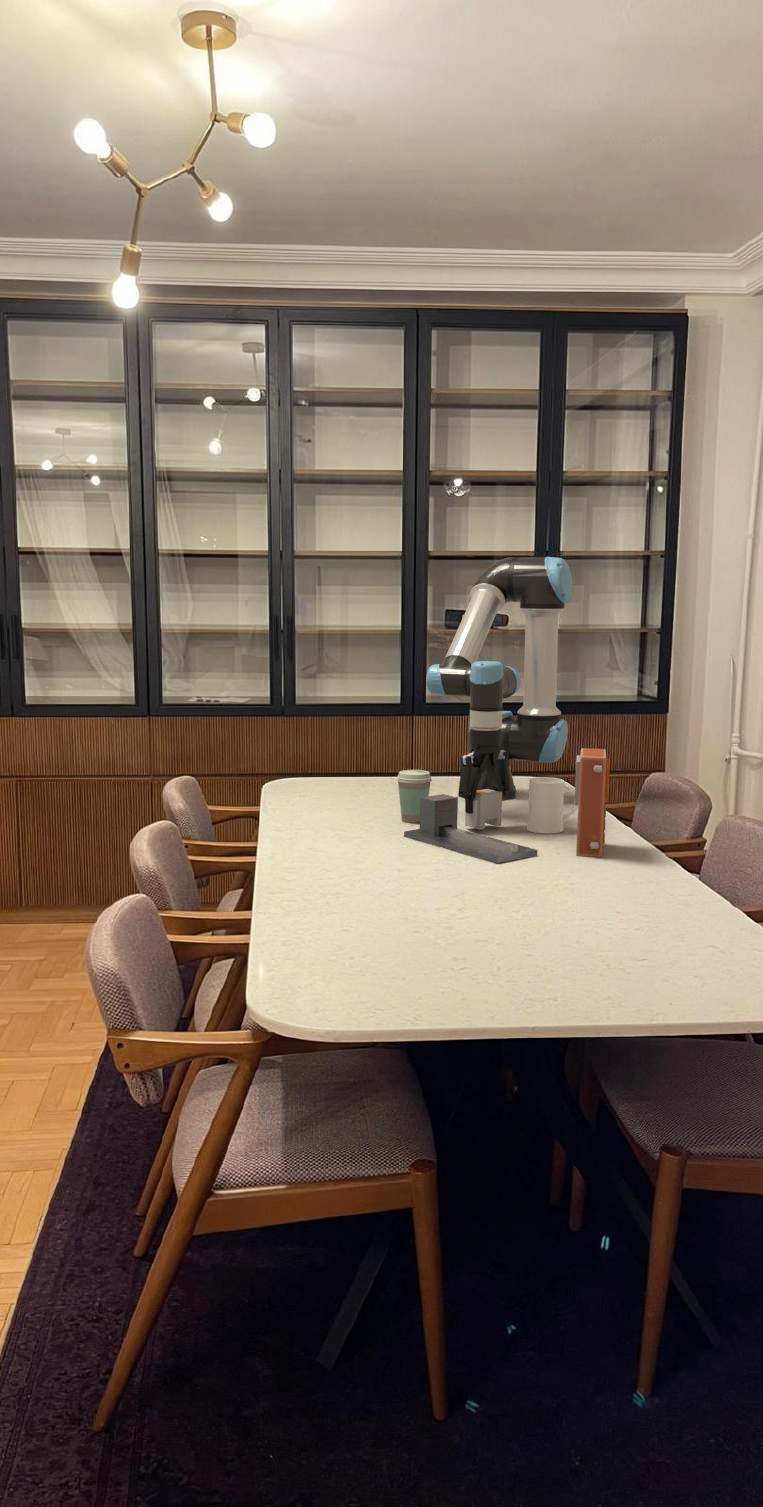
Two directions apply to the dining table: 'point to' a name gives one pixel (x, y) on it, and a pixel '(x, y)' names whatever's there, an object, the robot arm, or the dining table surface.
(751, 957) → the dining table surface
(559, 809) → the mug
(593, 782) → the control panel
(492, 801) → the module
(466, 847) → the rail board
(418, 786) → the coffee cup
